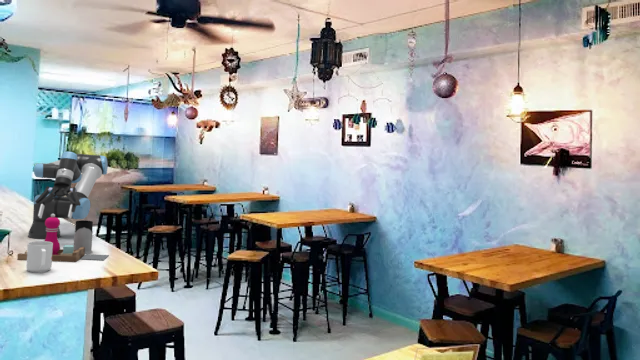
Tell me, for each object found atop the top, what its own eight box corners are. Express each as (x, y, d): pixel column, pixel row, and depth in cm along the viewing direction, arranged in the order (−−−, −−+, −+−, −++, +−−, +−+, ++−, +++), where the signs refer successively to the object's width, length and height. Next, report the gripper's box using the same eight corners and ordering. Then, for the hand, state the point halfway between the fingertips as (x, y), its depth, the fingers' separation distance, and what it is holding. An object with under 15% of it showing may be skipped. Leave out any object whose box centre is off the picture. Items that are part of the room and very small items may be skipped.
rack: (29, 253, 221) (30, 244, 221) (84, 255, 226) (84, 247, 226) (17, 259, 208) (17, 250, 208) (75, 262, 213) (76, 253, 212)
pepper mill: (51, 260, 213) (54, 215, 212) (37, 258, 214) (39, 213, 213) (63, 257, 220) (65, 213, 219) (49, 255, 221) (52, 212, 220)
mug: (24, 268, 196) (25, 241, 195) (48, 266, 202) (50, 240, 201) (29, 275, 187) (31, 247, 186) (55, 273, 192) (56, 246, 192)
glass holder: (72, 254, 226) (74, 222, 225) (72, 248, 239) (74, 218, 238) (92, 254, 230) (94, 223, 229) (91, 248, 243) (93, 218, 242)
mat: (86, 254, 227) (86, 254, 227) (108, 255, 229) (108, 255, 229) (79, 259, 217) (80, 258, 217) (103, 260, 219) (103, 259, 219)
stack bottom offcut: (64, 257, 221) (65, 250, 220) (76, 258, 221) (76, 251, 221) (60, 259, 216) (60, 253, 215) (71, 260, 216) (72, 253, 216)
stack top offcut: (63, 251, 219) (64, 245, 219) (73, 251, 221) (73, 245, 220) (62, 253, 215) (63, 246, 215) (72, 253, 217) (73, 246, 217)
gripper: (34, 175, 239) (24, 213, 229) (87, 176, 243) (79, 214, 233) (40, 182, 246) (29, 220, 235) (91, 183, 250) (83, 220, 239)
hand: (54, 217), depth 234 cm, fingers open, 13 cm apart
